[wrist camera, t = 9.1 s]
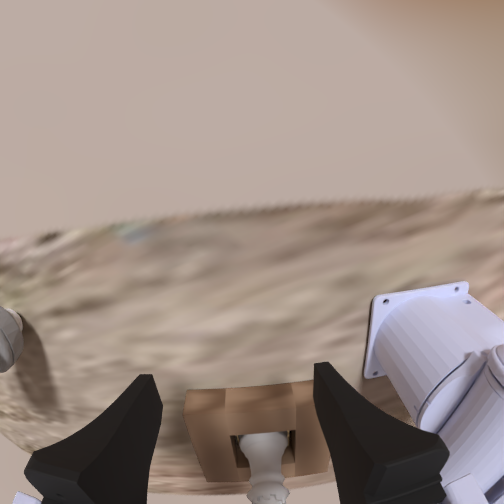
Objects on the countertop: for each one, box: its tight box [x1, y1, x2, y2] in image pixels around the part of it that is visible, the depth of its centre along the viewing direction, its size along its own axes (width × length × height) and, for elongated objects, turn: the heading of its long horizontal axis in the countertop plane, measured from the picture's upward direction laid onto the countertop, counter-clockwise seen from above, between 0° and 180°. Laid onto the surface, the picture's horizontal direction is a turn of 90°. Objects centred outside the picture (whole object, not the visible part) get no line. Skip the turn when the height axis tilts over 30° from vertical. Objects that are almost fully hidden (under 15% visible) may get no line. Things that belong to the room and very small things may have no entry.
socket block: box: [183, 380, 330, 482], centre depth 25 cm, size 12×11×3 cm
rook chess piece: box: [238, 431, 290, 504], centre depth 21 cm, size 4×4×8 cm
